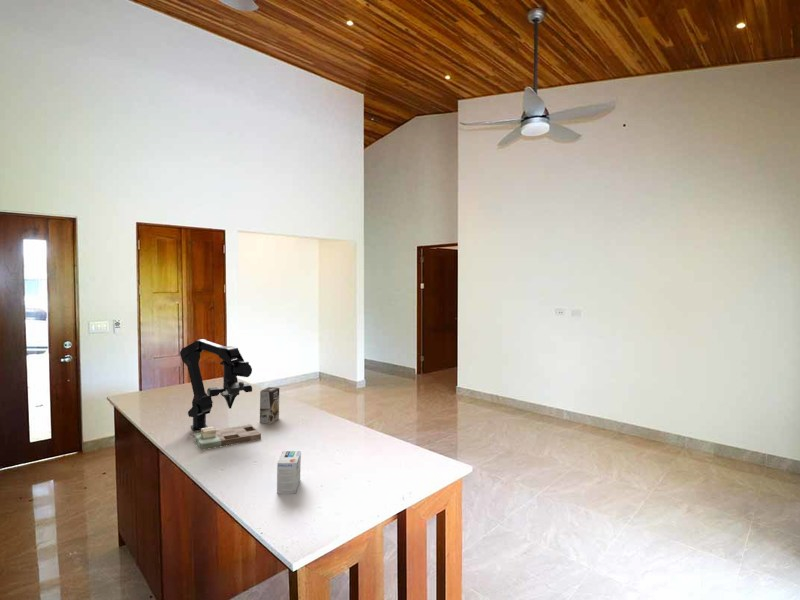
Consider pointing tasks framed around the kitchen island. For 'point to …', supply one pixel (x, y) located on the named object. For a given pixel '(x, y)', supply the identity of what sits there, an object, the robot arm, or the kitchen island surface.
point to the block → (208, 432)
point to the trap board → (228, 437)
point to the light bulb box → (288, 472)
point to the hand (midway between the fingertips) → (229, 408)
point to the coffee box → (269, 405)
